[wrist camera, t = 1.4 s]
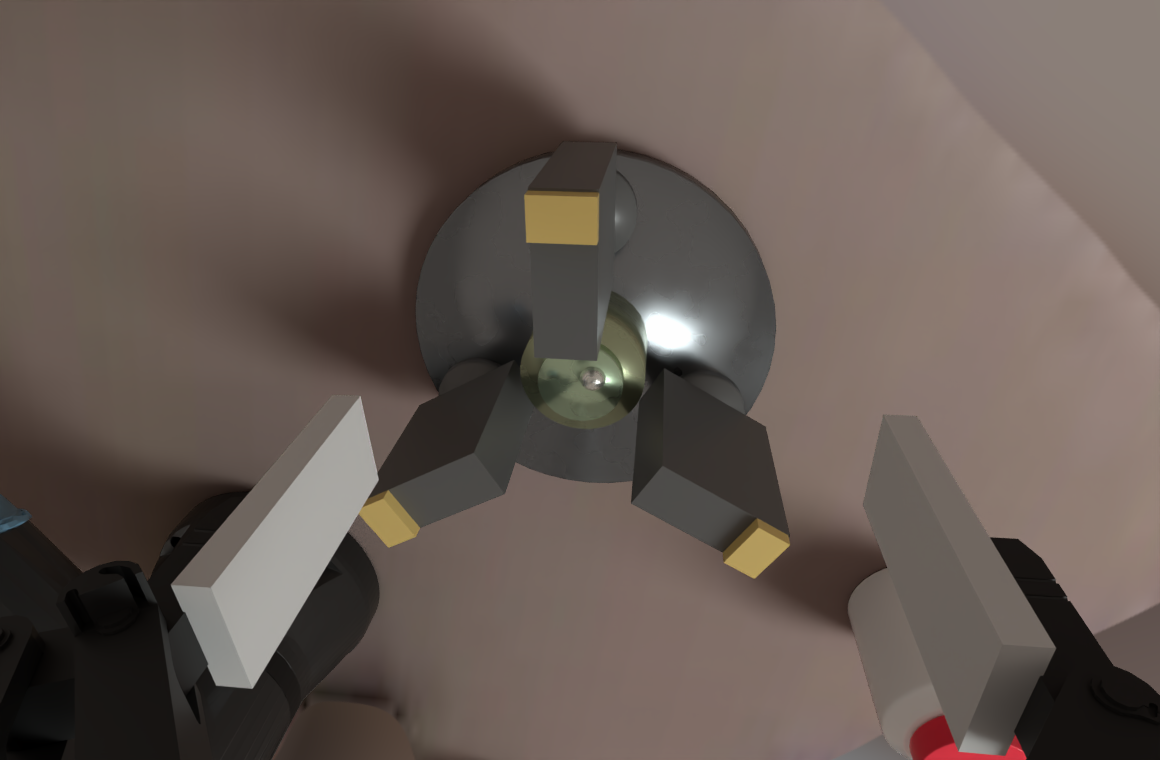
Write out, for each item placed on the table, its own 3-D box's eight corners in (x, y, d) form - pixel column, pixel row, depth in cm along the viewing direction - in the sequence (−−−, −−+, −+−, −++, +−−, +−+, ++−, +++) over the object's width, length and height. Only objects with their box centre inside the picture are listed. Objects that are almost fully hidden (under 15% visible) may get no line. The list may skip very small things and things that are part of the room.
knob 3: (630, 406, 37) (617, 527, 28) (675, 346, 35) (676, 458, 26) (725, 460, 38) (742, 593, 29) (775, 405, 36) (808, 531, 27)
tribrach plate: (442, 456, 42) (405, 531, 36) (403, 143, 33) (344, 174, 27) (748, 478, 40) (762, 560, 34) (798, 151, 31) (829, 187, 25)
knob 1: (507, 337, 36) (456, 443, 27) (549, 401, 37) (514, 519, 29) (413, 384, 38) (339, 494, 29) (458, 442, 39) (400, 563, 31)
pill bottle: (873, 551, 42) (932, 711, 33) (995, 576, 42) (1090, 745, 32) (830, 632, 46) (871, 796, 37) (941, 655, 46) (1012, 826, 36)
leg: (634, 275, 33) (622, 369, 25) (546, 271, 34) (504, 363, 25) (640, 139, 30) (628, 194, 21) (543, 137, 30) (494, 190, 22)
